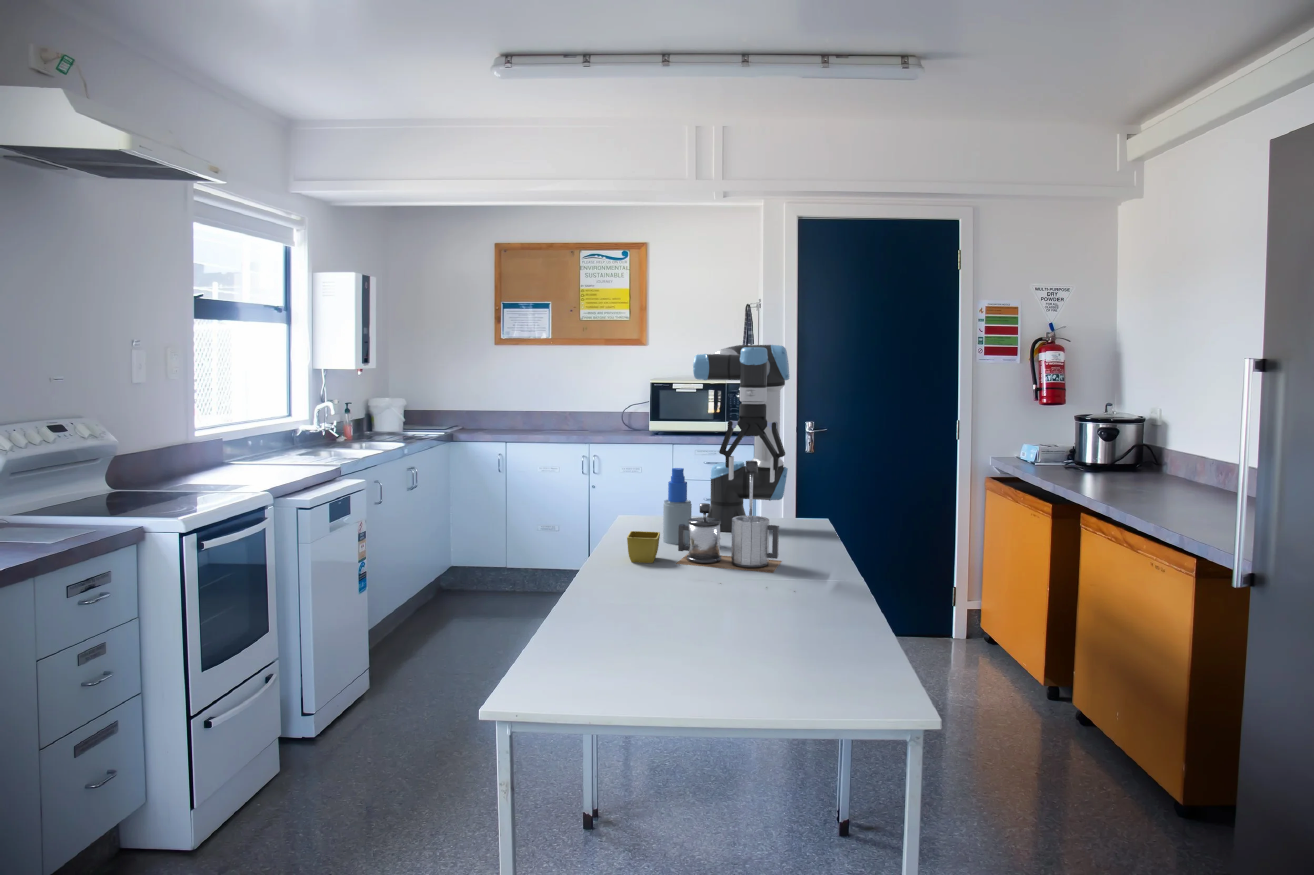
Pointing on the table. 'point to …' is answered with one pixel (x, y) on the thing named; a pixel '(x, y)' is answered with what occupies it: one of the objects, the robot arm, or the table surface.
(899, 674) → the table surface
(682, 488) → the spray bottle
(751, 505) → the plunger
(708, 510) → the short press
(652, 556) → the flower pot
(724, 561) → the serving board
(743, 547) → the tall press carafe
